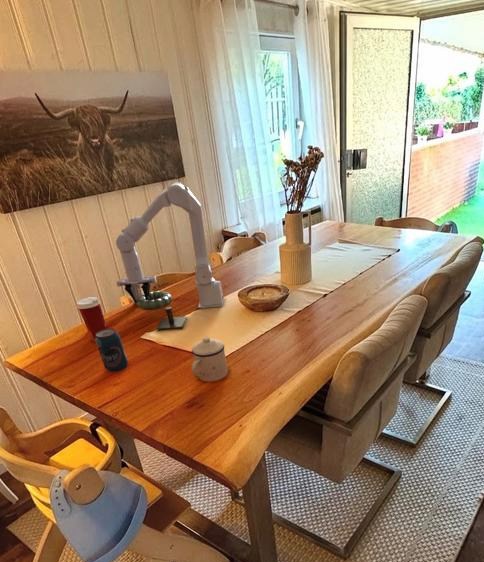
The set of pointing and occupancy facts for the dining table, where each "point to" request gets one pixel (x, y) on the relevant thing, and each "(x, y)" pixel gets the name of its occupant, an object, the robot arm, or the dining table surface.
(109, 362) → the soda can
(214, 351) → the teacup with lid
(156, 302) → the ring
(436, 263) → the dining table surface
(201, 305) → the robot arm
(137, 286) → the sprinkles bottle
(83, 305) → the paper cup
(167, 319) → the holder
